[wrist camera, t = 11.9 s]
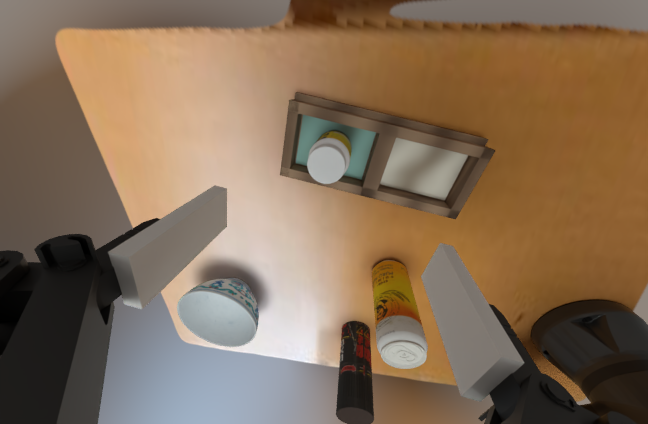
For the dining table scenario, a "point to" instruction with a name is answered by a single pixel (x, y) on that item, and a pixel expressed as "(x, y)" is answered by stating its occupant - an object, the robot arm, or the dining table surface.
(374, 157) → the divided tray
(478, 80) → the dining table surface
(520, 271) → the dining table surface
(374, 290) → the yellow canister
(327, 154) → the supplement bottle
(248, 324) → the chinaware
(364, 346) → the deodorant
